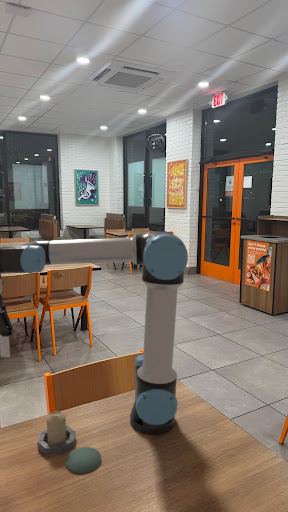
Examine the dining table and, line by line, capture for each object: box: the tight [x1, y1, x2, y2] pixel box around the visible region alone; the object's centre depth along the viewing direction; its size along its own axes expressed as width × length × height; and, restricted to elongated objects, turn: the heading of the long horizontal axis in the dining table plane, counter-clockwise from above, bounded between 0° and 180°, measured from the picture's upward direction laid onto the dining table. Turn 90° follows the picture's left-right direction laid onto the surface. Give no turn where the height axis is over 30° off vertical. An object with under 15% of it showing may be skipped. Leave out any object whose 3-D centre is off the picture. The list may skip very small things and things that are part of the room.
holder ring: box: [37, 425, 77, 456], centre depth 109 cm, size 11×11×2 cm
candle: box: [46, 410, 67, 445], centre depth 109 cm, size 6×6×10 cm
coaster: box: [65, 446, 102, 475], centre depth 102 cm, size 10×10×1 cm
